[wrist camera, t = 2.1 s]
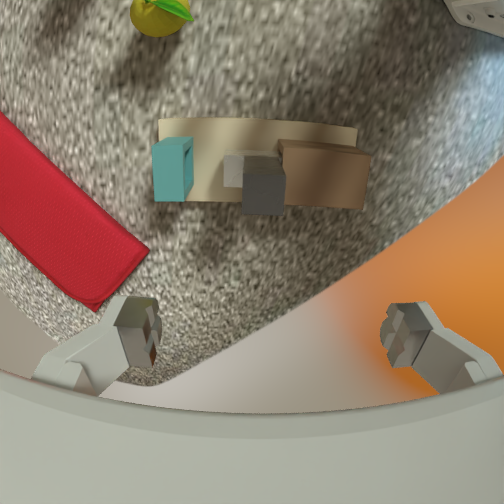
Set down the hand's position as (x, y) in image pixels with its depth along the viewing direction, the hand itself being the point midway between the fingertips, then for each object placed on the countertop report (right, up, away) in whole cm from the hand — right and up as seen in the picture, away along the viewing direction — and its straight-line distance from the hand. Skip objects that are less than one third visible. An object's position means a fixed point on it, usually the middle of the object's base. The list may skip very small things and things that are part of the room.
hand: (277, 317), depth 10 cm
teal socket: (-8, +12, +20) cm, 25 cm away
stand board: (0, +12, +22) cm, 25 cm away
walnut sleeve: (+6, +11, +21) cm, 24 cm away
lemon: (-10, +27, +14) cm, 32 cm away
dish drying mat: (-33, +11, +23) cm, 42 cm away
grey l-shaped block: (+3, +11, +20) cm, 23 cm away
